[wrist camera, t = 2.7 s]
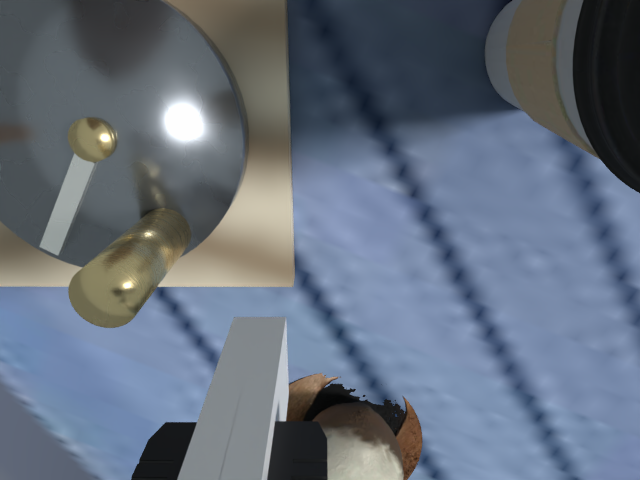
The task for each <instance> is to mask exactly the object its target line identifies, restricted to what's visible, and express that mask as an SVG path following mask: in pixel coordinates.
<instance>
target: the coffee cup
mask: <svg viewBox="0 0 640 480" xmlns="http://www.w3.org/2000/svg"><path fill="white" fill-rule="evenodd" d="M485 63H486V69H487V73H488V76H489V78H490V81H491V83H492V85H493V87H494V88H495V90H496V92H497V93H498V94H499V95H500V96H501V97H502V98H503V99H504V100H505V101H507V102H509V103H510V104H512V105H514V106H515V107H517V108H519V109H521V110H522V111H524V112H526V113H527V114H528V115H529V116H530V117H531V118H532V119H533V121H535V122H537V123H538V124H540V125H542V126H543V127H545V128H547V129H548V130H550V131H552V132H554V133H555V134H557V135H559V136H561V137H562V138H564V139H566V140H567V141H569V142H571V143H573V144H574V145H576V146H578V147H580V148H581V149H583V150H585V151H587V152H588V153H590V154H592V155H594V156H595V157H597V158H599V159H600V160H601V161H602V162H603V163H604V164H605V165H606V167H607V168H608V169H609V170H610V171H611V172H612V173H613V174H614V175H615V176H616V177H617V178H619V179H620V180H621V181H622V182H624V183H625V184H626V185H628V186H629V187H630V188H632V189H634V190H635V191H637V192H639V193H640V0H512V1H511V2H510V3H508V4H507V5H506V6H505V7H504V8H503V9H502V11H501V12H500V13H499V14H498V15H497V17H496V18H495V20H494V21H493V23H492V25H491V27H490V29H489V32H488V35H487V38H486V45H485Z"/></svg>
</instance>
